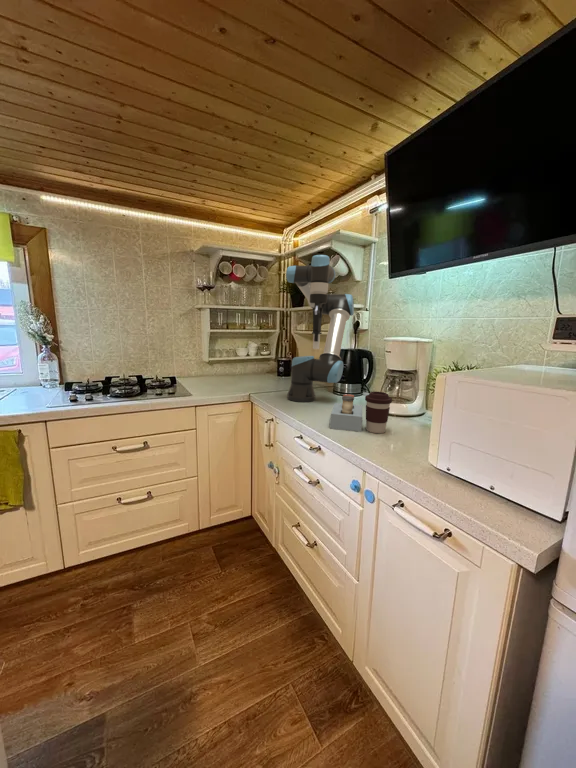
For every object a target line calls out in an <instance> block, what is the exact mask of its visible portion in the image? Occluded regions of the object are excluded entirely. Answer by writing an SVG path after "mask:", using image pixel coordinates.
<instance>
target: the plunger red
mask: <svg viewBox="0 0 576 768" xmlns="http://www.w3.org/2000/svg"><path fill="white" fill-rule="evenodd" d="M342 396H352V397H354V398H355V395H354V394H343V395H342ZM352 409H353V407H352Z"/></svg>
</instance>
